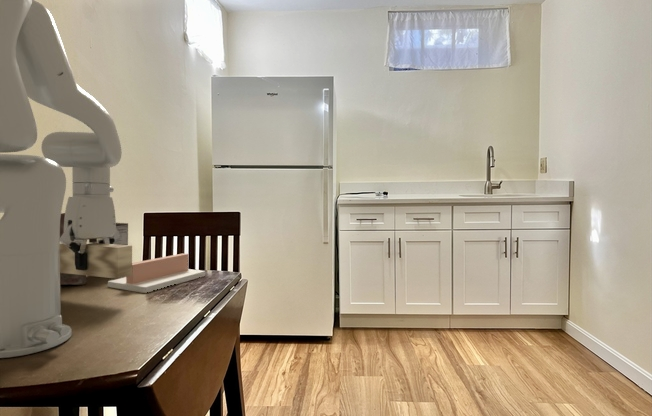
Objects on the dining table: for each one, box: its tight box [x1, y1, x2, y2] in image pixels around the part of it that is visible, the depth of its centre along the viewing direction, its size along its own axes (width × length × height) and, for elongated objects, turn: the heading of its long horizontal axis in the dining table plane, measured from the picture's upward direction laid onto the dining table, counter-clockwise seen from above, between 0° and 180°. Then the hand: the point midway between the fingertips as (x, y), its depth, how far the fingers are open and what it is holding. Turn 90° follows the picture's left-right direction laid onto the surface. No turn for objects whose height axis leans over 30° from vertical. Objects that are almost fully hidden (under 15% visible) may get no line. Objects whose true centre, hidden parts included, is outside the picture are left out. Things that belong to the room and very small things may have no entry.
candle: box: [60, 212, 87, 286], centre depth 101 cm, size 8×7×20 cm
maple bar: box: [60, 242, 133, 280], centre depth 88 cm, size 20×4×7 cm, turn 73°
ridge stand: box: [107, 253, 206, 294], centre depth 107 cm, size 14×22×6 cm, turn 157°
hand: (91, 267), depth 88 cm, fingers closed on maple bar, 4 cm apart
